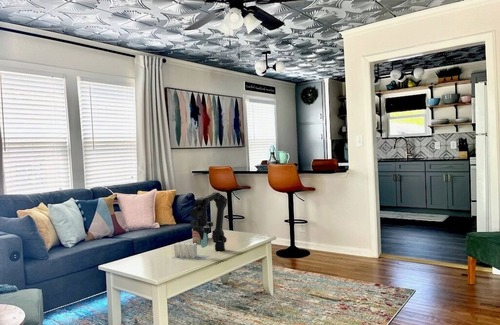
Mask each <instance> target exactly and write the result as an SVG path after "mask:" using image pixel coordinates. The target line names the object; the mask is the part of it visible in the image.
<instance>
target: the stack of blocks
mask: <svg viewBox="0 0 500 325" xmlns="http://www.w3.org/2000/svg"><path fill="white" fill-rule="evenodd" d="M191 234H192V237H191V238H192V244H194V243H196V244H197V245H200V244H201V238H200V235H199V233H198V232H197V231H193V228H192V229H191ZM207 239H209V235H208V236H207Z"/></svg>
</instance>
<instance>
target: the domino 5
mask: <svg viewBox="0 0 500 325" xmlns="http://www.w3.org/2000/svg"><path fill="white" fill-rule="evenodd" d="M200 246H201V248H202V249H204V248H206V247H208V238H207V235H206V233H204V237H203V240H201V245H200Z"/></svg>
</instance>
